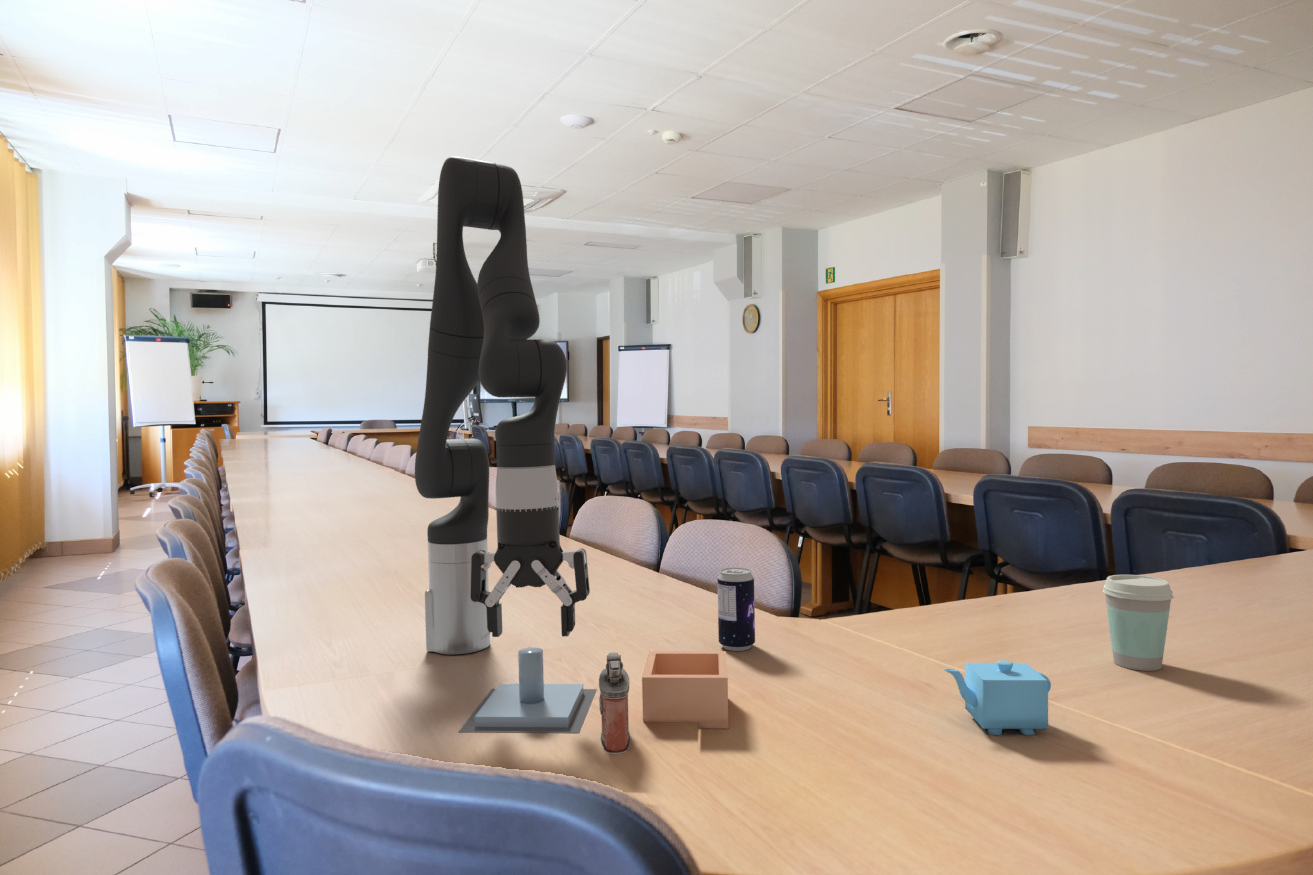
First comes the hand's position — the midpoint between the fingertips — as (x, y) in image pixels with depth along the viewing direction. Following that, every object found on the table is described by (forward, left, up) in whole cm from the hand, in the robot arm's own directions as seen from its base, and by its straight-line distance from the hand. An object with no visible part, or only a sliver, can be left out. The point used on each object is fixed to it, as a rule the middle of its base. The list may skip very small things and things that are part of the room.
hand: (531, 635), depth 97 cm
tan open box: (+19, +2, -10) cm, 21 cm away
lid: (0, 0, -9) cm, 9 cm away
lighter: (+11, -8, -10) cm, 17 cm away
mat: (0, 0, -10) cm, 10 cm away
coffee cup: (+82, +20, -10) cm, 85 cm away
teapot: (+55, -2, -10) cm, 56 cm away
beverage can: (+26, +28, -10) cm, 39 cm away
